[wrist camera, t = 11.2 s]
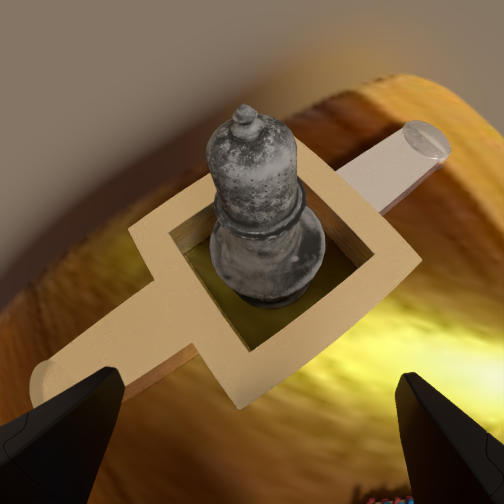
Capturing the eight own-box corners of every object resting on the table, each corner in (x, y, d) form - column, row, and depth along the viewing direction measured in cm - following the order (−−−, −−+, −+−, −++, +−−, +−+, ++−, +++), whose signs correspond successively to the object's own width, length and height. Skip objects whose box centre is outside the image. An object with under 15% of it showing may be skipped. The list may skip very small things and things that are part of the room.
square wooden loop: (101, 480, 13) (76, 490, 10) (35, 337, 18) (9, 329, 15) (403, 278, 17) (422, 260, 14) (286, 157, 21) (284, 129, 19)
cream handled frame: (247, 404, 15) (243, 406, 14) (147, 249, 20) (138, 239, 18) (482, 188, 18) (490, 178, 17) (384, 103, 23) (387, 91, 22)
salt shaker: (212, 241, 19) (135, 90, 8) (297, 212, 19) (297, 43, 8) (239, 327, 17) (150, 232, 6) (334, 292, 17) (400, 151, 6)
